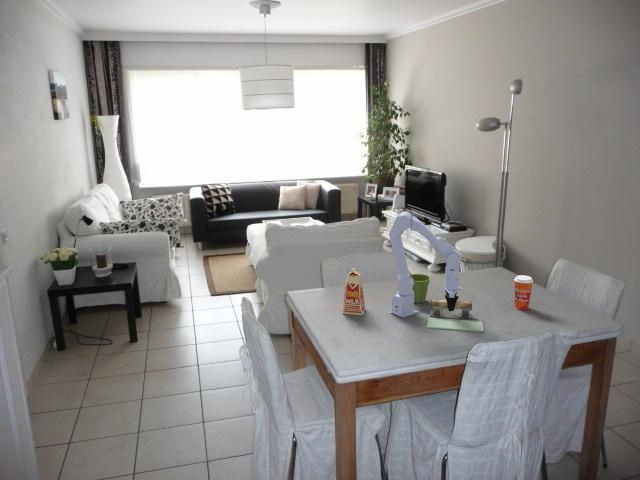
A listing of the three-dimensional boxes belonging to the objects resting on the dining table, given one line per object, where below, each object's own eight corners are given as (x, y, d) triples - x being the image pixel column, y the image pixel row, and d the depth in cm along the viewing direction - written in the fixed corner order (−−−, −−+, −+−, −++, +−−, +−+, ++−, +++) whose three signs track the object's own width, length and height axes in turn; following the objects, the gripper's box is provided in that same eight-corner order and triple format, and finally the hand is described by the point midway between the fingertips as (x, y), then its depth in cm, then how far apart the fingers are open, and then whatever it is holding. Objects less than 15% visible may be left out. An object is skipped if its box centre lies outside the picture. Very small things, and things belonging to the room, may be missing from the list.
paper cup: (511, 309, 233) (513, 278, 229) (513, 303, 239) (515, 274, 236) (530, 312, 229) (532, 281, 226) (532, 306, 236) (534, 276, 232)
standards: (430, 316, 227) (430, 305, 226) (430, 312, 231) (430, 301, 230) (471, 319, 223) (472, 308, 222) (470, 314, 228) (471, 304, 226)
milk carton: (362, 315, 230) (362, 271, 225) (341, 314, 232) (341, 270, 227) (365, 307, 238) (365, 265, 234) (345, 306, 240) (344, 264, 236)
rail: (430, 307, 227) (430, 301, 226) (430, 305, 230) (430, 299, 229) (471, 310, 223) (472, 303, 222) (471, 307, 226) (471, 301, 225)
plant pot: (428, 296, 251) (429, 273, 248) (431, 305, 240) (432, 281, 237) (403, 296, 252) (404, 273, 250) (405, 304, 241) (405, 281, 238)
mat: (427, 328, 215) (427, 326, 214) (427, 319, 224) (428, 317, 224) (483, 332, 210) (483, 330, 210) (482, 322, 219) (482, 321, 219)
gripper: (462, 283, 215) (461, 315, 219) (461, 273, 229) (460, 302, 232) (444, 282, 217) (443, 313, 220) (444, 272, 231) (443, 301, 234)
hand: (450, 308), depth 226 cm, fingers open, 6 cm apart
